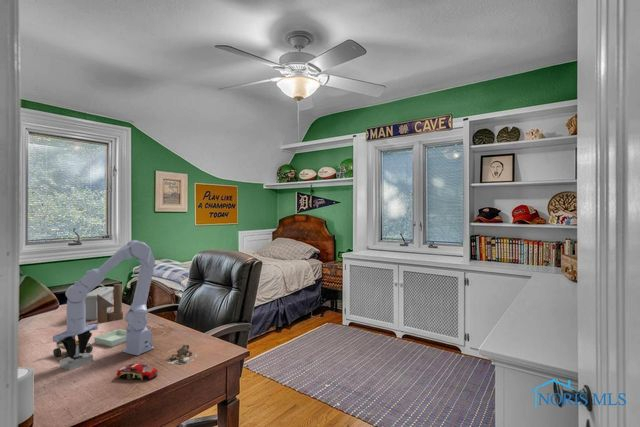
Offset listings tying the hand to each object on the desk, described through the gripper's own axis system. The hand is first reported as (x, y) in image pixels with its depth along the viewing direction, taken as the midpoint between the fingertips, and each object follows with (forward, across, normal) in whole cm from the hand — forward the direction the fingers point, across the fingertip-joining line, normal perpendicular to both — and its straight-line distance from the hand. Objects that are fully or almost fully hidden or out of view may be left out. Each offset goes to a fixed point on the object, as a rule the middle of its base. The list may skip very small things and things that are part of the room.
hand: (76, 354), depth 127 cm
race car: (+4, -3, +28) cm, 29 cm away
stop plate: (+3, 0, 0) cm, 3 cm away
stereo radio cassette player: (+4, -41, -50) cm, 65 cm away
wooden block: (+4, -38, -36) cm, 53 cm away
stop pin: (+3, 0, 0) cm, 3 cm away
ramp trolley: (+3, -5, -10) cm, 12 cm away
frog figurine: (+4, -20, +30) cm, 37 cm away
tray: (+3, -21, -8) cm, 23 cm away
